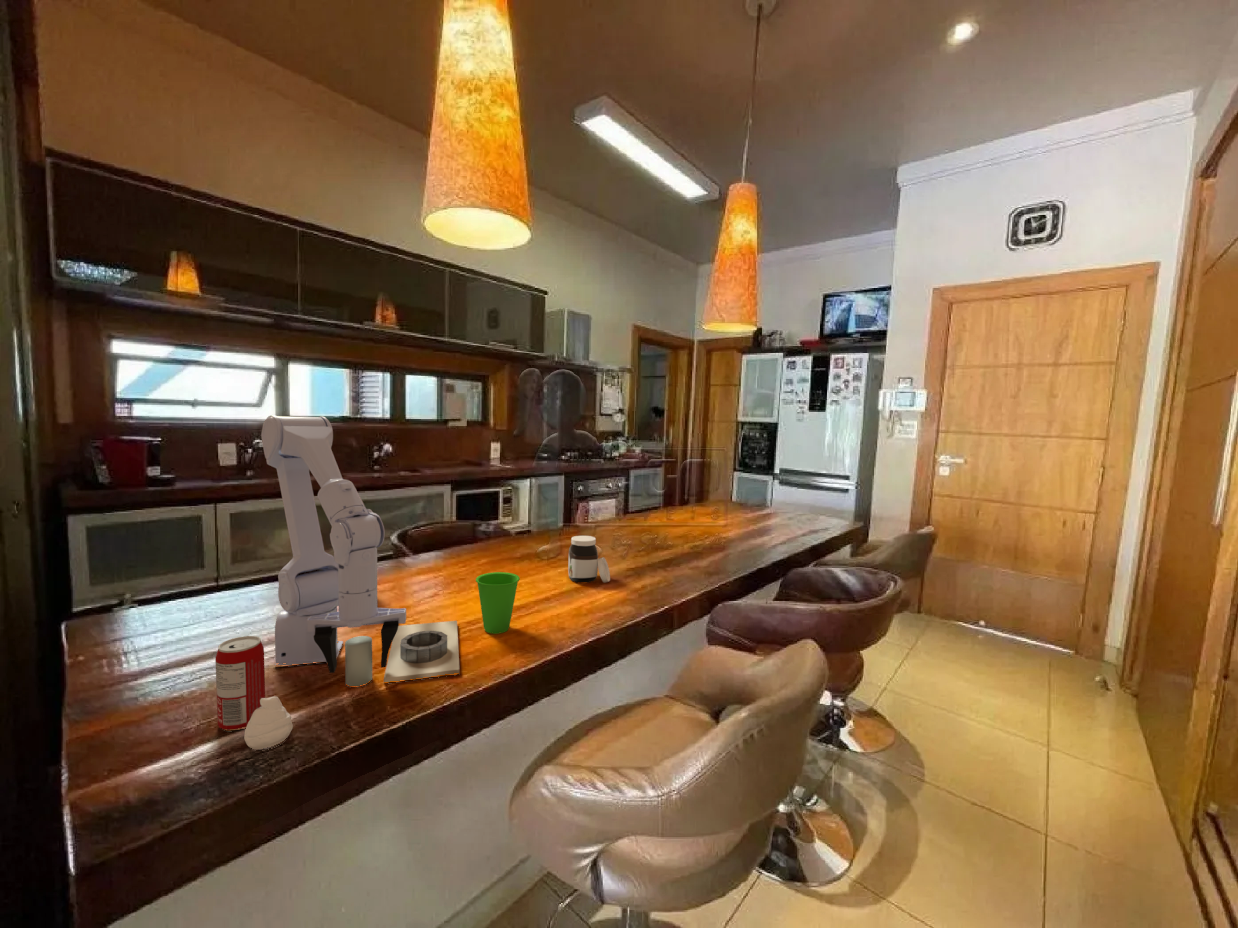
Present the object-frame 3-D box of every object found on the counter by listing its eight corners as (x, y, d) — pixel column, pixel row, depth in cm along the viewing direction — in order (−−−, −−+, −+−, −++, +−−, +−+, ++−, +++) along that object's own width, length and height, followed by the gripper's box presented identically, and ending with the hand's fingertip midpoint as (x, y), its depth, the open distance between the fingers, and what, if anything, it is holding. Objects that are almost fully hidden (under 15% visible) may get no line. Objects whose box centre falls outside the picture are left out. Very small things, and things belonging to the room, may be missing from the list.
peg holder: (383, 684, 85) (383, 663, 85) (396, 630, 106) (396, 614, 106) (459, 674, 89) (459, 655, 89) (456, 625, 110) (457, 609, 109)
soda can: (264, 706, 78) (262, 630, 77) (266, 724, 73) (264, 643, 72) (218, 718, 74) (215, 638, 73) (217, 738, 70) (214, 653, 69)
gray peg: (343, 689, 83) (342, 647, 83) (347, 677, 87) (347, 637, 86) (370, 685, 85) (370, 645, 84) (373, 674, 88) (373, 635, 88)
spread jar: (565, 574, 148) (566, 534, 147) (603, 572, 151) (604, 533, 150) (574, 587, 137) (575, 545, 136) (614, 585, 140) (616, 543, 139)
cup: (473, 638, 103) (474, 585, 102) (476, 621, 112) (477, 572, 111) (518, 636, 105) (520, 584, 104) (518, 620, 114) (519, 571, 113)
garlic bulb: (290, 684, 73) (293, 701, 69) (291, 724, 74) (294, 744, 69) (243, 695, 70) (243, 714, 66) (244, 736, 71) (244, 758, 66)
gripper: (301, 600, 78) (302, 685, 79) (403, 592, 83) (404, 673, 84) (312, 585, 85) (314, 664, 86) (407, 579, 90) (407, 654, 91)
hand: (358, 667), depth 86 cm, fingers open, 7 cm apart
